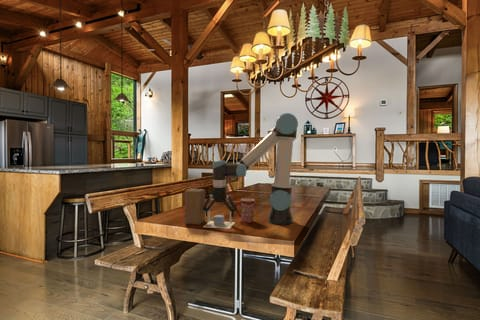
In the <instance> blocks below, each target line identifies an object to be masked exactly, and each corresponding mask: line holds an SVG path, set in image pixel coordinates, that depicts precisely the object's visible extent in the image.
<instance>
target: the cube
mask: <svg viewBox="0 0 480 320" xmlns="http://www.w3.org/2000/svg"><path fill="white" fill-rule="evenodd" d="M213 221H214V225H216V226H222V225H223V224H224V222H225V215H223V214H216V215H214V216H213Z"/></svg>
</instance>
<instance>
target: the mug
mask: <svg viewBox="0 0 480 320" xmlns="http://www.w3.org/2000/svg"><path fill="white" fill-rule="evenodd" d="M234 204H235V206H236V209H237V210H236V211H235V212H236V213H237V215H239V217H240V220H241V222H242V223H253V222H254V216H255V215H254V214H255V199H253V198H241V199H240V201H236V202H235V203H234ZM238 204H239V205H240V212H239V210H238V207H237V205H238Z"/></svg>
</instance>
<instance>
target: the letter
mask: <svg viewBox="0 0 480 320" xmlns="http://www.w3.org/2000/svg"><path fill="white" fill-rule="evenodd" d="M235 223H236V222H234V221H232V223H231V224H230V221H224V224H223V225H222V226H216V225H214V220H210V222H206V223H205V225H203V226H202V228H212V229H223V230H224V229H227V230H230V229H231V228H232V227H233V225H235Z"/></svg>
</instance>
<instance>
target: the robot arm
mask: <svg viewBox="0 0 480 320" xmlns="http://www.w3.org/2000/svg"><path fill="white" fill-rule="evenodd" d="M298 125H299V122H298V119H297V117H296V116H295V115H294V114H292V113H288V112H287V113H282V114H280V115H279V116H278V118H277V119H276V121H275V126H273V127H272V128H271V131H270V132H269V133H268V134H267V135H266V136H265V137H264V138H263V139H262V140H261V141H260V142H258V143H257V144H256V145H255V146H254V147H253V148H252V149H251V150H250V151H249V152H248V153H246V154H245V155H244V156H243V157H242V158H241V159H240V160H239V161H238V162H236V163H227V161H226V160H214V161H213V164H212V184H213V185H212V186H213V187H212V192H213V193H212V194H207V199H206V200H205V205H204V207H203V210H205V217H206V218H207V221H206V223H208V222H210V221H211V210H210V209H211V208H212V207H213V205H214V204H215V203H220V204H224V205H225V206H226V208H227V209H228V210H229V211H230V212H229V222H230V224H231V223H232V222H233V218H234V215H235V212H237V211H236V210H238V208H237V209H236V207H237V205H236V206H235V204H236V203H235V202H234V201H233V198H232V194H229V195H228V194H227V177H228V178H229V177H230V178H231V177H232V178H233V177H234V178H243V177H244V178H245V177H246V175H247V171H248V170H249V169H250V168H251V167H253V165H255V164H256V163H257V162H258V161H260V159H261V158H262V157H264V156H265V155H266V154H267V153H268V152H269V151H270V150H271V149H272V148H274V146H276V145H277V146H276V156H275V157H276V158H275V169H274V180H273V183H272V184H271V185H270V195H269V204H270V211H269V214H268V217H267V218H268V223H269V224H273V225H290V224H292V223H294V218H293V214H292V211H291V203H292V190H293V189H292V187H293V186H292V185H291V184H290V181H291V171H292V170H291V169H292V159H293V158H292V157H293V148H294V147H293V146H294V142H295V140H297V133H298ZM212 198H213V200H212V201H211V199H212ZM227 199H228V201H229V202H228V201H227ZM210 202H211V203H210Z"/></svg>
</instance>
